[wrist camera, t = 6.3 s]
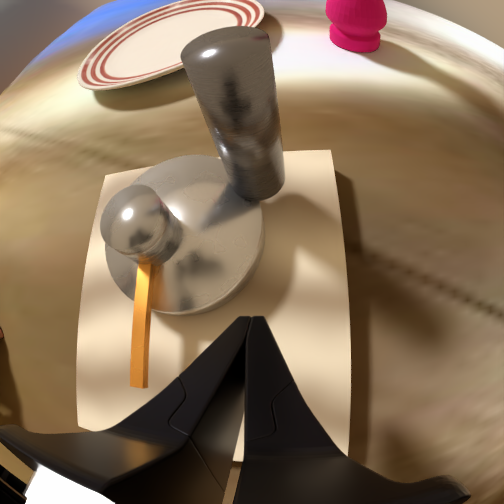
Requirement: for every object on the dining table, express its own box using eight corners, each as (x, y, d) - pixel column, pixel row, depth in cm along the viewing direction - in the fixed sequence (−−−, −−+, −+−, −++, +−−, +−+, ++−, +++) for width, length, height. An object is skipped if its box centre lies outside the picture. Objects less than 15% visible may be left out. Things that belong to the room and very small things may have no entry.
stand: (342, 449, 14) (347, 460, 12) (94, 422, 17) (77, 426, 15) (328, 166, 21) (330, 148, 19) (117, 187, 24) (104, 174, 22)
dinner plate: (138, 21, 39) (133, 9, 36) (280, 2, 33) (278, -14, 30) (56, 118, 31) (44, 104, 28) (238, 99, 25) (231, 73, 22)
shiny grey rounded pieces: (351, 280, 16) (426, 164, 6) (154, 389, 15) (2, 405, 5) (246, 136, 20) (211, 4, 10) (96, 226, 20) (-7, 145, 10)
